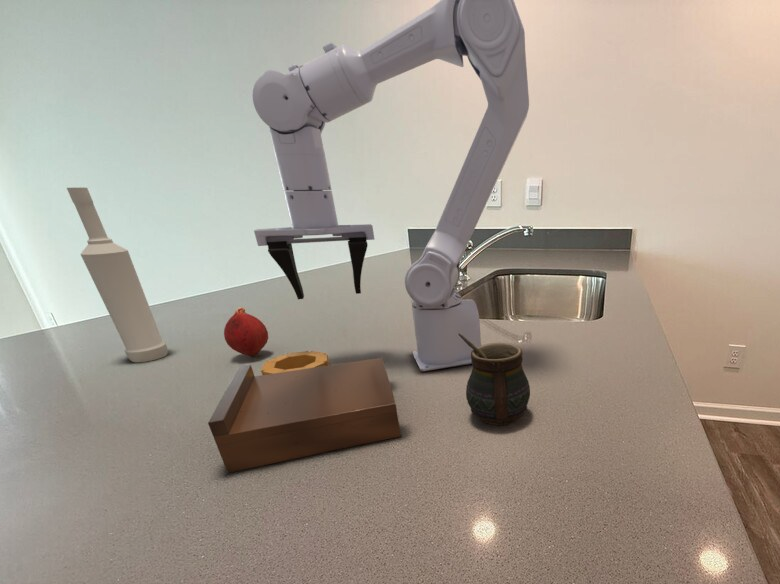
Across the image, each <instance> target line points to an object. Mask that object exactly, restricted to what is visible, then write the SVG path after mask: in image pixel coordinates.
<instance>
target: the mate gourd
mask: <svg viewBox="0 0 780 584" xmlns="http://www.w3.org/2000/svg"><path fill="white" fill-rule="evenodd" d="M458 335H459V336H460V337H461V338H462V339H463V340H464V341H465V342H466V343H467V345H468V346H470V347H471V348H472V349H473V351H472V352H471V366H472V368H471V372H470V375H469V377H468V379H467V383H466V388H465V396H466V400H467V404H468V406H469V408H470V411H471V413H472V414H473V416H475V418H477V419H478V420H480V421H482V422H484V423H486V424H490V425H496V426H499V427H500V426H505V425H509V424H511V423H513V422H515V421H516V420H518V419H519V418H521V417H522V416H523V414H524V413H525V412H526V411H527V408H528V404H529V400H530V398H531V397H530V396H531V386H530V383H529V379H528V377H527V375H526V373H525V371H524V368H523V364H522V363H523V349H522V348H521V347H520V346H518V345H516V344H512V343H509V342H489V343H486V344H485V343H484V344H481V346H479V347H477V348H476V346H475V345H474V344H472V343H471V342H470V341H469V340H467V338H465V337H464V336H463V335H461V334H460V333H459V334H458Z"/></svg>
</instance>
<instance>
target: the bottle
mask: <svg viewBox="0 0 780 584" xmlns="http://www.w3.org/2000/svg"><path fill="white" fill-rule="evenodd" d="M66 190H67V192H68V194H69V197H70V199H71V202H72V204H74V206H75V209H76V212H77V214H78V216H79V218H80V220H81V223H82V225H83V228H84V230H85V232H86V234H87V237H88V239H87V241H86V243H87V245H86V247H85V248H84V249H83V250H82V252H80V257H81V259H82V260H83V263H84V265H85V266H86V269H87V271H88V273H89V275H90V277H91V279H92V281H93V284H94V286H95V288H96V289H97V292H98V294H99V296H100V298H101V300H102V302H103V304H104V307H105V308H106V310H107V312H108V314H109V317H110V318H111V321H112V322H113V325H114V327H115V329H116V331H117V333H118V335H119V337H120V339H121V341H122V343H123V346H124V347H125V349H124V353H125V355H126V357H127V358H128V360H129V361H130V362H132V363H145V362H146V363H147V362H151V361H156V360H160V359H162V358H164V357H166V356H167V355H168V354H169V349H168V346H167V344H166V342H164V341H163V338H162V337H161V334H160V331H159V328H158V326H157V323H156V320H155V318H154V315H153V313H152V310H151V308H150V305H149V302H148V300H147V297H146V295H145V292H144V289H143V287H142V284H141V281H140V279H139V276H138V273H137V271H136V268H135V265H134V262H133V260H132V258H131V255H130V252H129V250H128V249H126V248H125V247H123V246H121V245H119V244H117V243H115V242H114V240H113V239H112V238H110V237H108V234H107V232H106V230H105V228H104V226H103V225H104V224H103V223H102V221H101V218H100V216H99V214H98V211H97V209H96V206H95V205H94V201H93V198H92V196H91V193H90V191H89V189H88V187H66Z"/></svg>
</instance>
